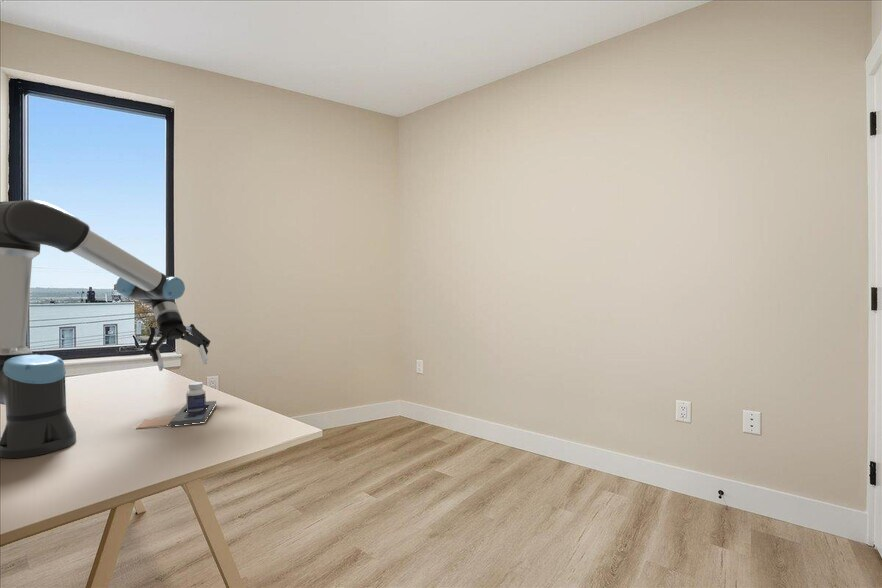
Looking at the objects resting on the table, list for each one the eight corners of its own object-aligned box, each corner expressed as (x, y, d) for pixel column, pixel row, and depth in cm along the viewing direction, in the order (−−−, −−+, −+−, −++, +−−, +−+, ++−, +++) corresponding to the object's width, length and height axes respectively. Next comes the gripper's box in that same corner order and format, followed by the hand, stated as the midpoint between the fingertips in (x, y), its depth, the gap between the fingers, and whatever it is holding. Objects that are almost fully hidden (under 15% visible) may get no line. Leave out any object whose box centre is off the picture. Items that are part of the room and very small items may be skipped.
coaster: (167, 426, 134) (167, 424, 134) (136, 429, 132) (136, 427, 132) (174, 418, 142) (174, 416, 142) (145, 420, 139) (145, 419, 139)
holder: (204, 423, 136) (204, 418, 136) (170, 426, 133) (170, 421, 133) (216, 405, 155) (216, 400, 155) (186, 407, 152) (186, 402, 152)
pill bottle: (208, 413, 146) (207, 383, 146) (190, 417, 142) (189, 386, 142) (202, 410, 150) (201, 380, 149) (184, 413, 146) (183, 383, 145)
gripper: (202, 321, 173) (220, 366, 164) (124, 327, 155) (139, 378, 145) (207, 308, 169) (225, 353, 160) (128, 313, 151) (143, 363, 142)
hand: (184, 365), depth 153 cm, fingers open, 13 cm apart
